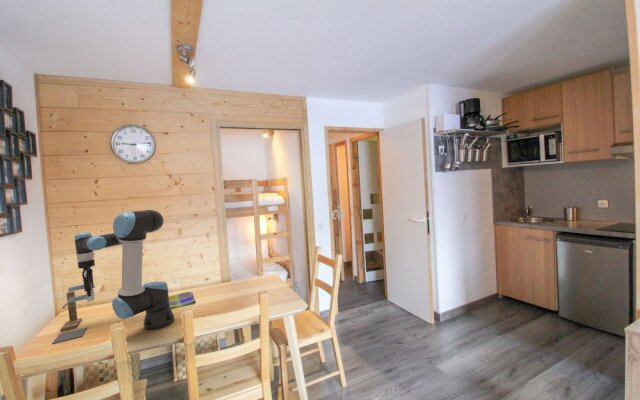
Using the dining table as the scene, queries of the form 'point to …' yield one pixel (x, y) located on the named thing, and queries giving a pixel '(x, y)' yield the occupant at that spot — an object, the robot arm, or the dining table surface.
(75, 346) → the dining table surface
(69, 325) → the stand
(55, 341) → the mat
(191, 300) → the green and purple book
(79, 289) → the c link
